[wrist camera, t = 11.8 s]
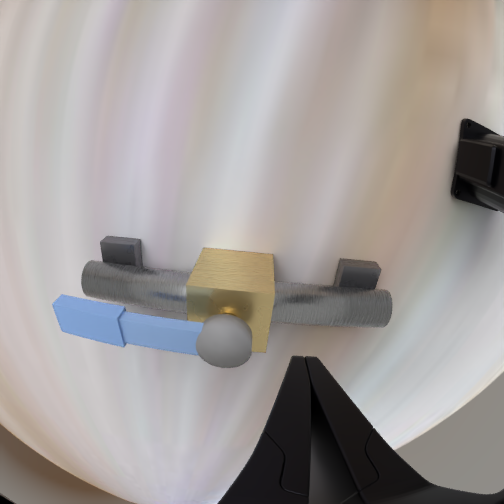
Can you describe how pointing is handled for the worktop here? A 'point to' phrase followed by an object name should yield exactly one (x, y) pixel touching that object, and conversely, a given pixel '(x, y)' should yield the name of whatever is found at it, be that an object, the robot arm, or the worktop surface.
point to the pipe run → (238, 289)
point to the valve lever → (157, 331)
